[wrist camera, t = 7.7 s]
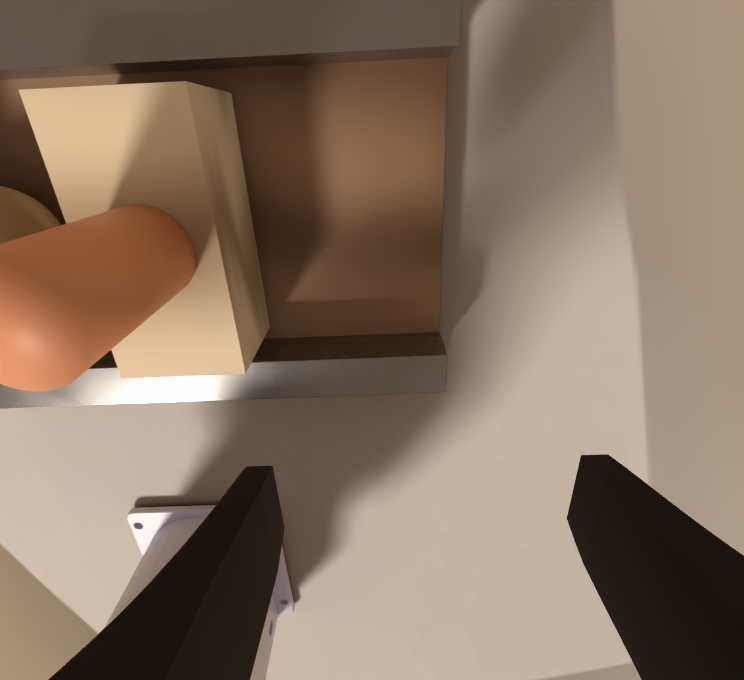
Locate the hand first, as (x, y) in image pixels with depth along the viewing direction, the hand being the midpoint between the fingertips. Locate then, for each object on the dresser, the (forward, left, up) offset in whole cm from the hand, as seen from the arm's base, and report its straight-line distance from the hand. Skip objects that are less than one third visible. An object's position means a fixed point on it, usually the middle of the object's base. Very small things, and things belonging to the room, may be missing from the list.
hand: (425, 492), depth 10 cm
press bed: (+5, +9, -9) cm, 14 cm away
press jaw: (+5, +7, -8) cm, 12 cm away
